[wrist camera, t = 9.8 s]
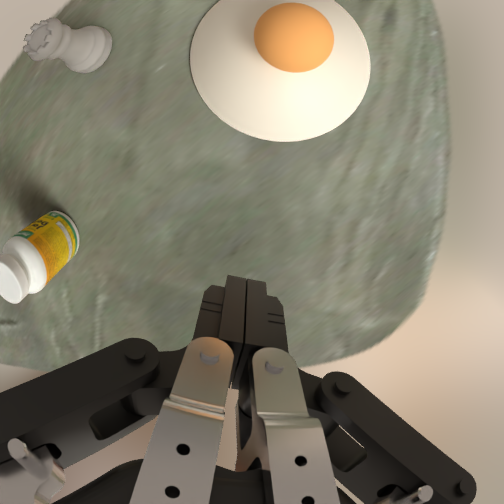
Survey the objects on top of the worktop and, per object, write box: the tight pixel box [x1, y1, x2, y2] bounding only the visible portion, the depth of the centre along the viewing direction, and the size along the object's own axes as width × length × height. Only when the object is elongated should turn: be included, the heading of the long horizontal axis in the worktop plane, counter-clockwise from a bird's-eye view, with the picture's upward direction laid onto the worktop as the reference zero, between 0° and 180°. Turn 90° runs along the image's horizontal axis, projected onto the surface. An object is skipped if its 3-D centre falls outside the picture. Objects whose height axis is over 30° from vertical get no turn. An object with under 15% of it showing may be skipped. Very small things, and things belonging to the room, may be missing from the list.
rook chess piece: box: [23, 18, 112, 74], centre depth 14 cm, size 4×4×8 cm
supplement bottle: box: [0, 211, 79, 303], centre depth 21 cm, size 5×5×10 cm
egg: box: [254, 3, 334, 73], centre depth 15 cm, size 5×5×5 cm
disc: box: [190, 0, 370, 142], centre depth 18 cm, size 14×14×1 cm
